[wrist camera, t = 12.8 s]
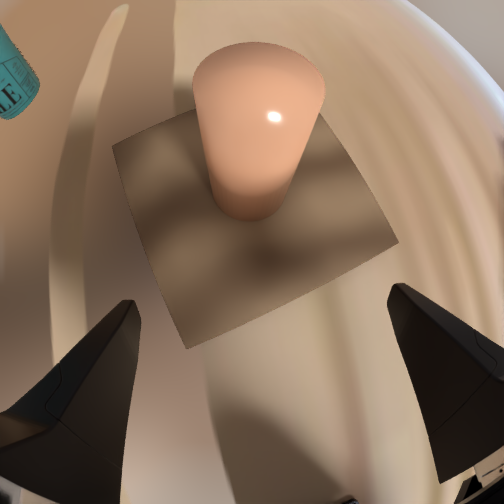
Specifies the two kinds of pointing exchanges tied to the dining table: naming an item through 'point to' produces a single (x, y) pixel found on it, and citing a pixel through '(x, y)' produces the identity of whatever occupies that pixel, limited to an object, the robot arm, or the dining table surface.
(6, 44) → the beverage bottle
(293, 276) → the tan flat square block
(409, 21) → the dining table surface
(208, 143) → the terracotta cylinder
